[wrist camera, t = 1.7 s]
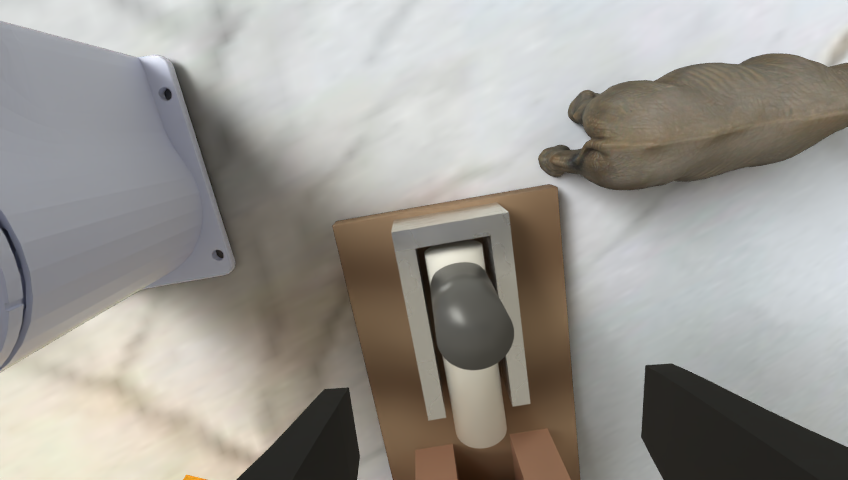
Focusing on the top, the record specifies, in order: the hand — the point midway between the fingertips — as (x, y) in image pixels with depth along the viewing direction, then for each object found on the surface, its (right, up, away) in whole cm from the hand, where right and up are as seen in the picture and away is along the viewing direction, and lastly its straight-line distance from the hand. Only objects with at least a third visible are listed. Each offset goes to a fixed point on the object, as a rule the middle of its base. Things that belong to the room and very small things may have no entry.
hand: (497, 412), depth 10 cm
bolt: (0, 0, +9) cm, 9 cm away
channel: (0, +1, +9) cm, 9 cm away
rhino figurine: (+10, +10, +8) cm, 16 cm away
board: (+1, -3, +11) cm, 12 cm away
